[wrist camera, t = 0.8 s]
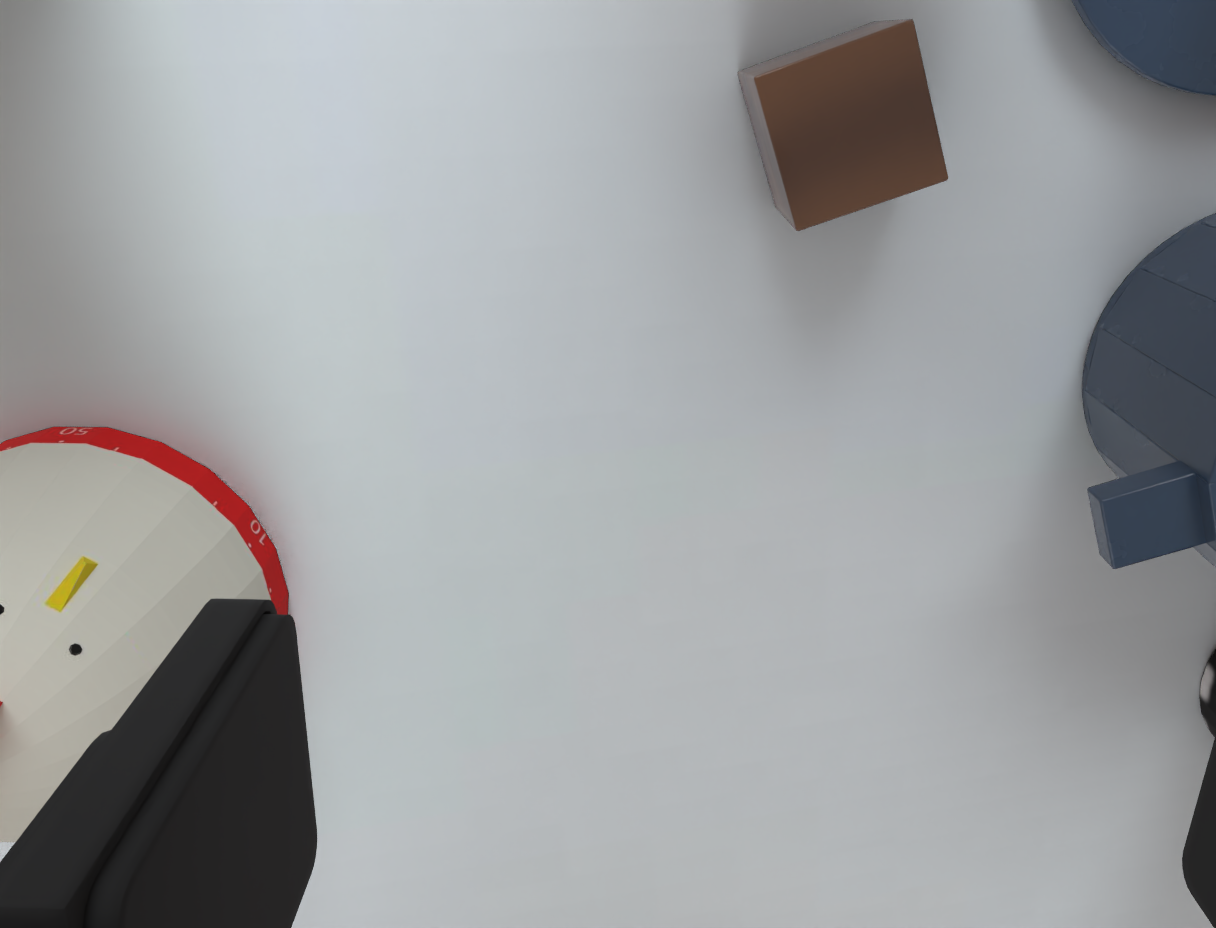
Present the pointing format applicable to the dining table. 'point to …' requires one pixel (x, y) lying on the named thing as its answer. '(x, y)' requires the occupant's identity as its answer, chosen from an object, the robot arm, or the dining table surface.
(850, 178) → the block
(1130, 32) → the lid
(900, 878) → the dining table surface
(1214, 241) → the pot
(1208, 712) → the spotted tube
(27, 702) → the kitchen timer
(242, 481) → the dining table surface
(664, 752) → the dining table surface
